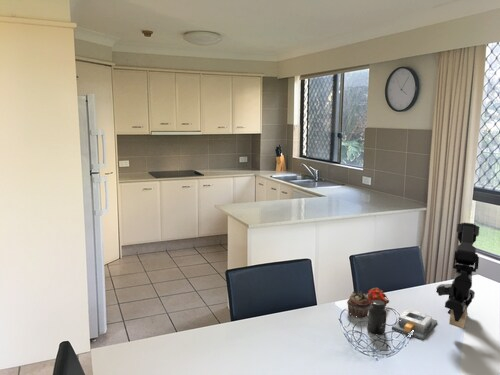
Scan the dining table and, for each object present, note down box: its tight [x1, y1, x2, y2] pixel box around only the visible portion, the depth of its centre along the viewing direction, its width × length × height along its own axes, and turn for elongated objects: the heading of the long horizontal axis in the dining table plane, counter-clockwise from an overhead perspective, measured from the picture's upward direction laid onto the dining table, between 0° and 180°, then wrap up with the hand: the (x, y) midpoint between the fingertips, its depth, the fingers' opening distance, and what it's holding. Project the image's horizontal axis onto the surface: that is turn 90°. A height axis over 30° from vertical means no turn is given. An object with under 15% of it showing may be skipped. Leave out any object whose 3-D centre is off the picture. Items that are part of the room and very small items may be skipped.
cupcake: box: [346, 290, 371, 319], centre depth 181 cm, size 10×10×10 cm
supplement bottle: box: [366, 300, 388, 336], centre depth 167 cm, size 7×7×12 cm
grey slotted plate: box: [391, 308, 438, 340], centre depth 173 cm, size 18×12×4 cm, turn 140°
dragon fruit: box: [366, 287, 390, 307], centre depth 190 cm, size 8×8×12 cm
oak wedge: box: [448, 306, 469, 329], centre depth 164 cm, size 3×5×8 cm, turn 51°
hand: (457, 319), depth 164 cm, fingers closed on oak wedge, 3 cm apart
